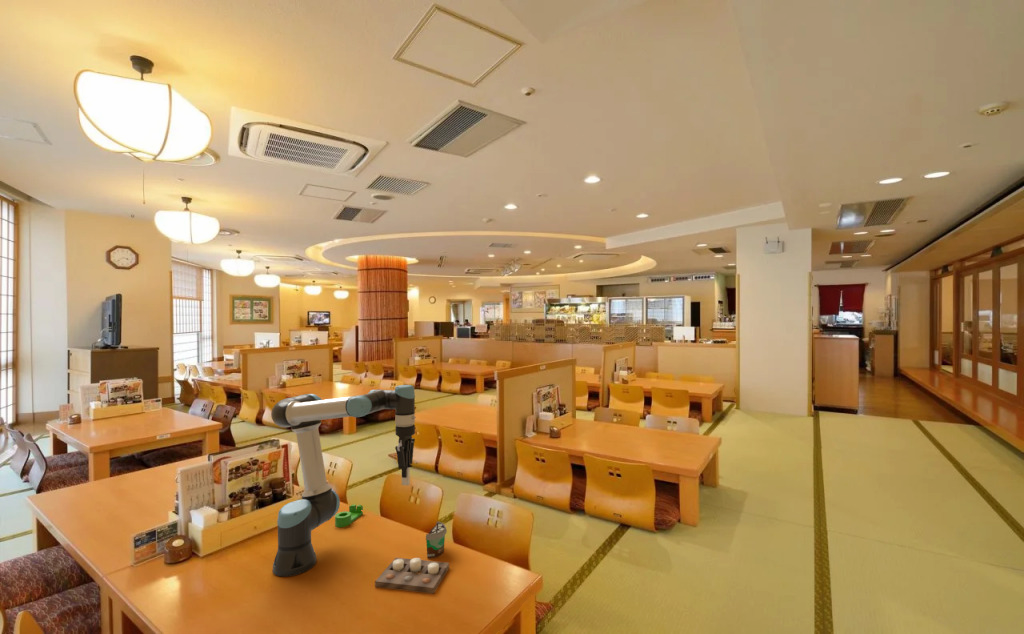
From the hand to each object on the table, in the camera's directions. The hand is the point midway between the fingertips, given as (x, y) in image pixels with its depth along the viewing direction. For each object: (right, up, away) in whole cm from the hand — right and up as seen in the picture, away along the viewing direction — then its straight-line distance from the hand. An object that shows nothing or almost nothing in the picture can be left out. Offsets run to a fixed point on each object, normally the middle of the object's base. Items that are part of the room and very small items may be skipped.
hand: (405, 484), depth 171 cm
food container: (+12, -31, +6) cm, 33 cm away
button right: (+13, -30, -10) cm, 34 cm away
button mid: (+6, -29, -9) cm, 30 cm away
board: (+6, -30, -11) cm, 32 cm away
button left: (-1, -30, -7) cm, 31 cm away
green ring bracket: (-37, -32, +37) cm, 62 cm away
